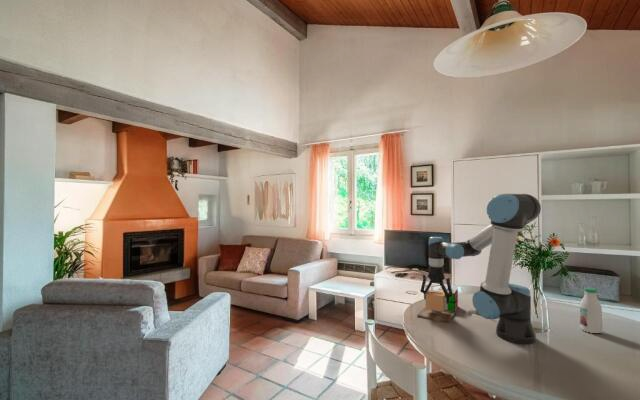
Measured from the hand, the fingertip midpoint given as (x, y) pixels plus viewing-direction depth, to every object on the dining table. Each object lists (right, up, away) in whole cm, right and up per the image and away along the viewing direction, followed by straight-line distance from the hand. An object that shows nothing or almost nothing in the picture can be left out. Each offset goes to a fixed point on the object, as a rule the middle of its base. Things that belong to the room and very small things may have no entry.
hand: (436, 307), depth 165 cm
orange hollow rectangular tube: (0, 0, 0) cm, 0 cm away
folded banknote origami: (+25, -5, +1) cm, 26 cm away
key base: (0, -4, 0) cm, 4 cm away
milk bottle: (+64, -4, -22) cm, 68 cm away
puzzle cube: (+11, -4, +12) cm, 17 cm away
